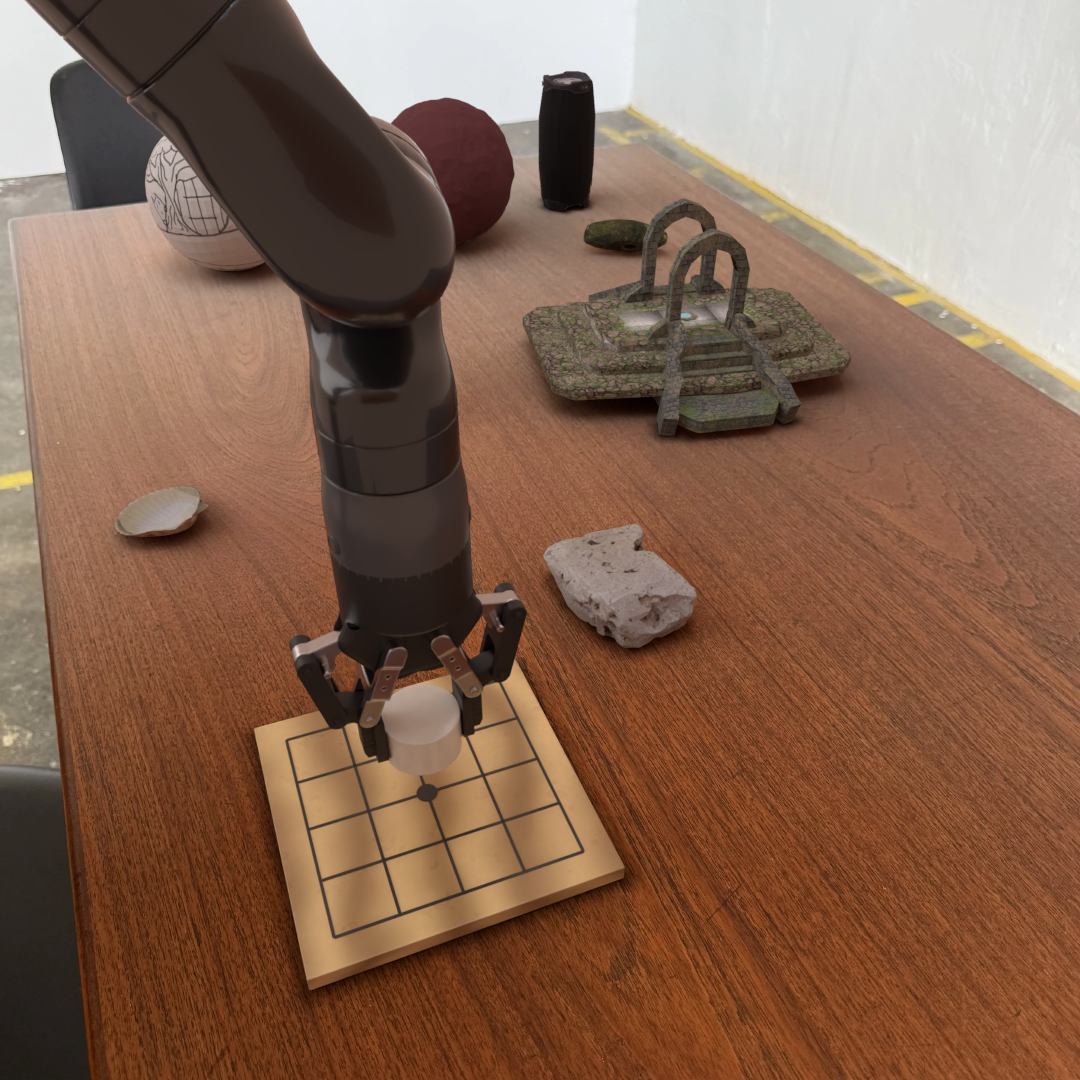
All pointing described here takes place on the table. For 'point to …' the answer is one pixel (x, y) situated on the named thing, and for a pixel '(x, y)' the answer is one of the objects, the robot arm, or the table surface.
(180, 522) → the seashell
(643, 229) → the decorative stone
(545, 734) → the grid board
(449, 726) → the white cylinder
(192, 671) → the table surface
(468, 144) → the decorative sphere
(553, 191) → the portable speaker
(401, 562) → the robot arm
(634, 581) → the stone
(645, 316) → the archway
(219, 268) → the ball
